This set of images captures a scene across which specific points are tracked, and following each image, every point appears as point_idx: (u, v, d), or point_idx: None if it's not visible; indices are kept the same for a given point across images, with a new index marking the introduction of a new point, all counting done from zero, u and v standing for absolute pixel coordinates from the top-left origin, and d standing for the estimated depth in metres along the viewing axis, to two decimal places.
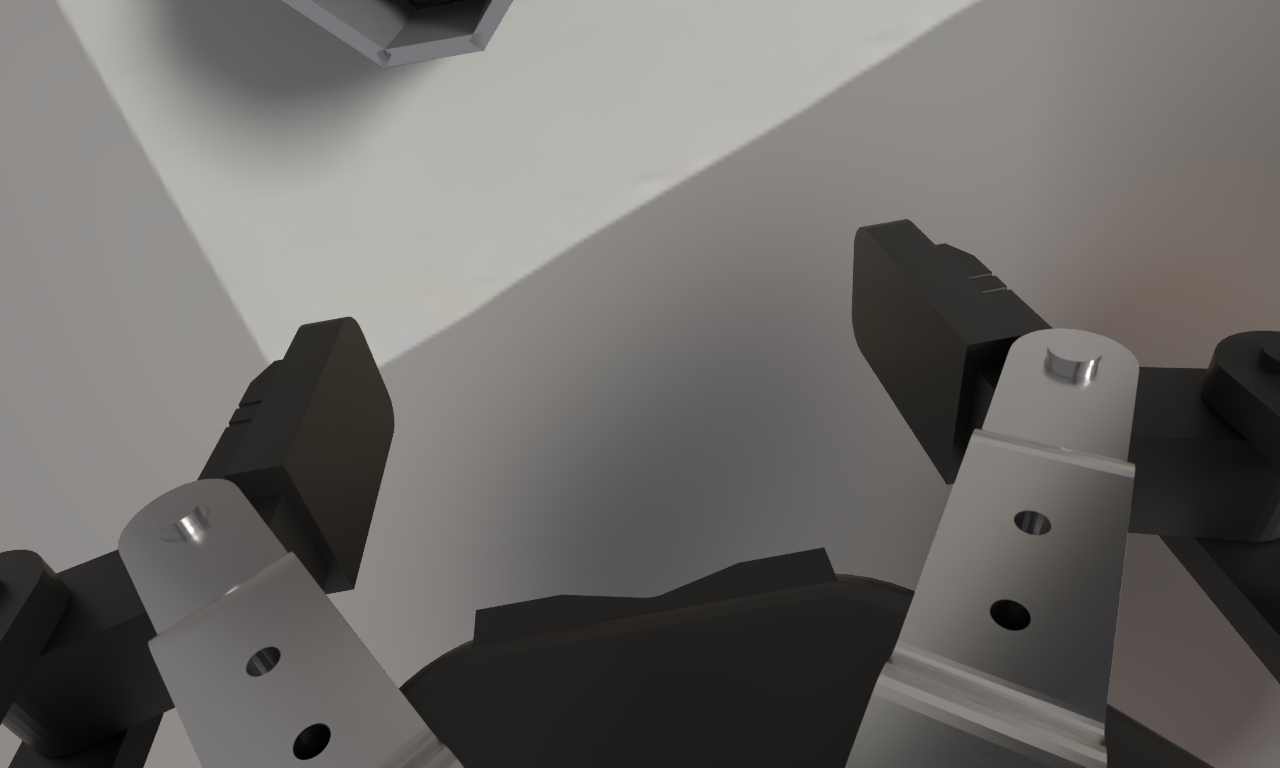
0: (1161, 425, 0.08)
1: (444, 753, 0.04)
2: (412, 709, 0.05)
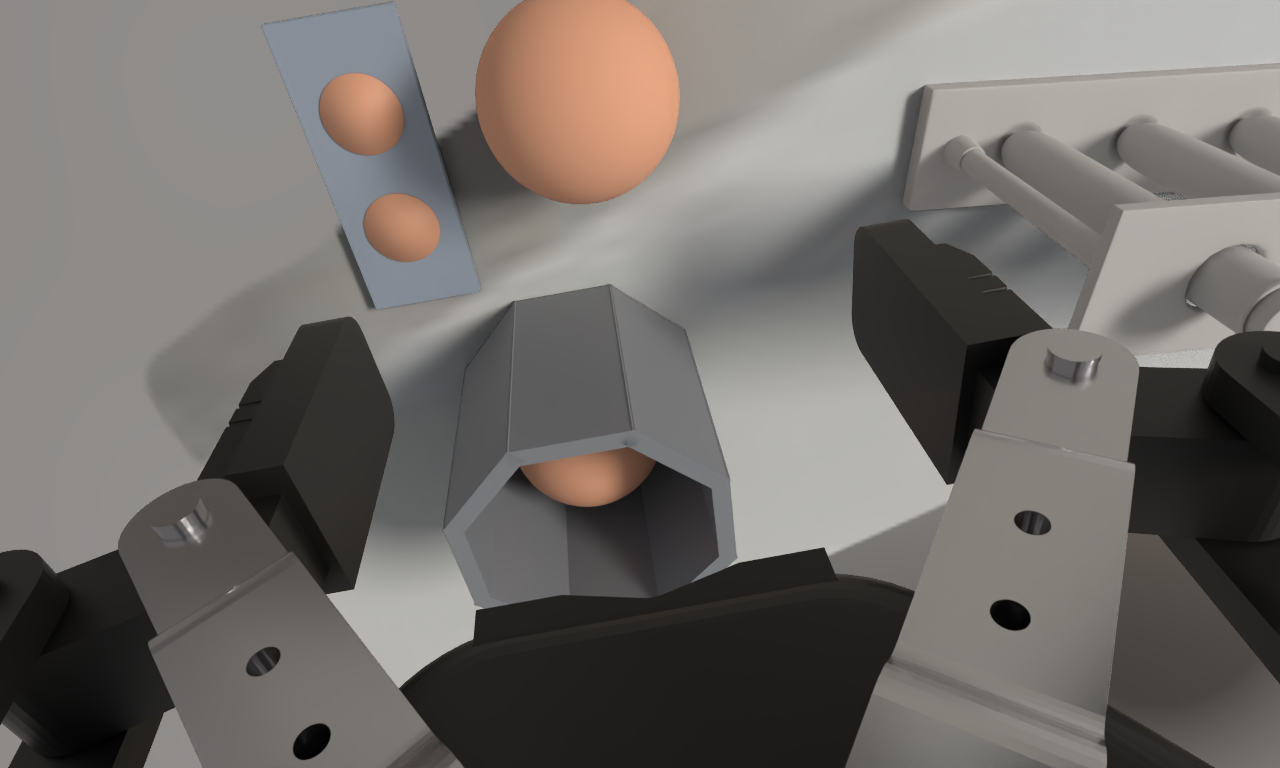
0: (1161, 425, 0.08)
1: (444, 753, 0.04)
2: (412, 709, 0.05)
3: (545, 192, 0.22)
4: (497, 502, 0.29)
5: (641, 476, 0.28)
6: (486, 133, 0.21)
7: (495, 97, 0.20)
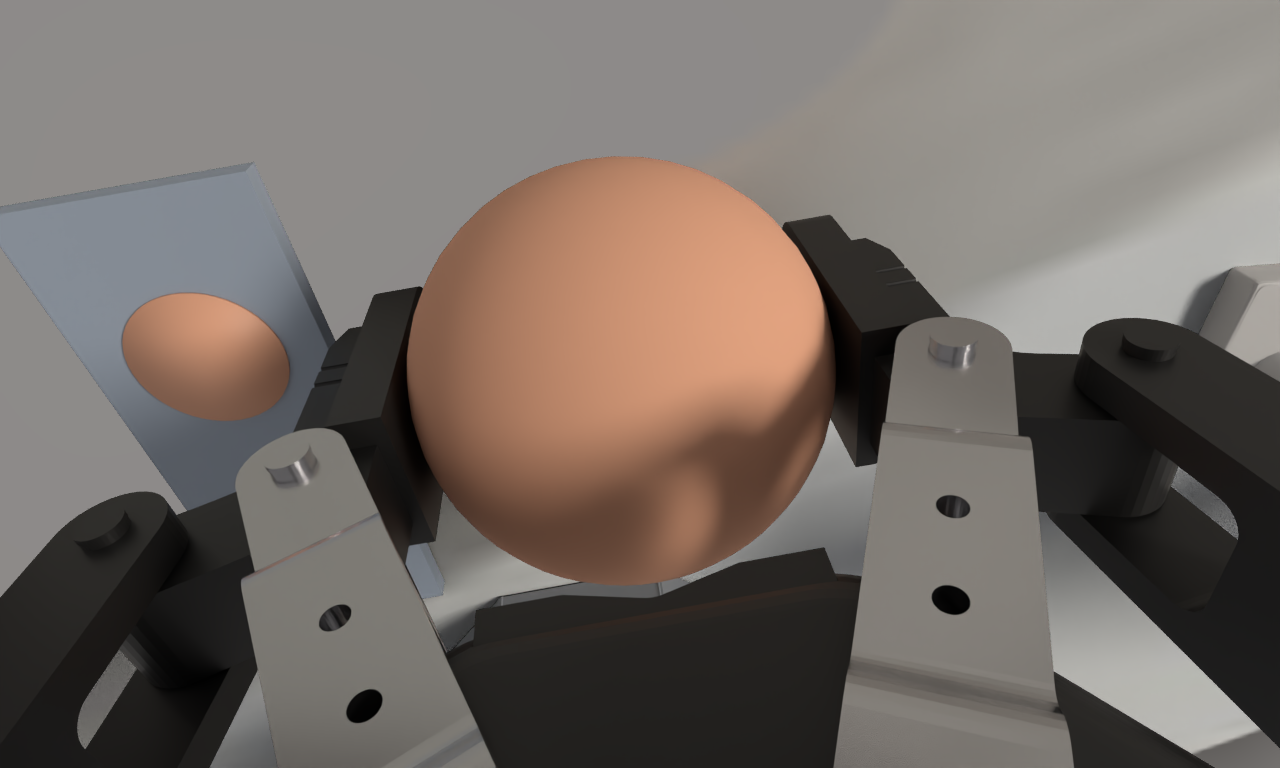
0: (1033, 406, 0.08)
1: (479, 747, 0.04)
2: (460, 693, 0.05)
3: None
4: None
5: None
6: (429, 466, 0.10)
7: (441, 428, 0.09)
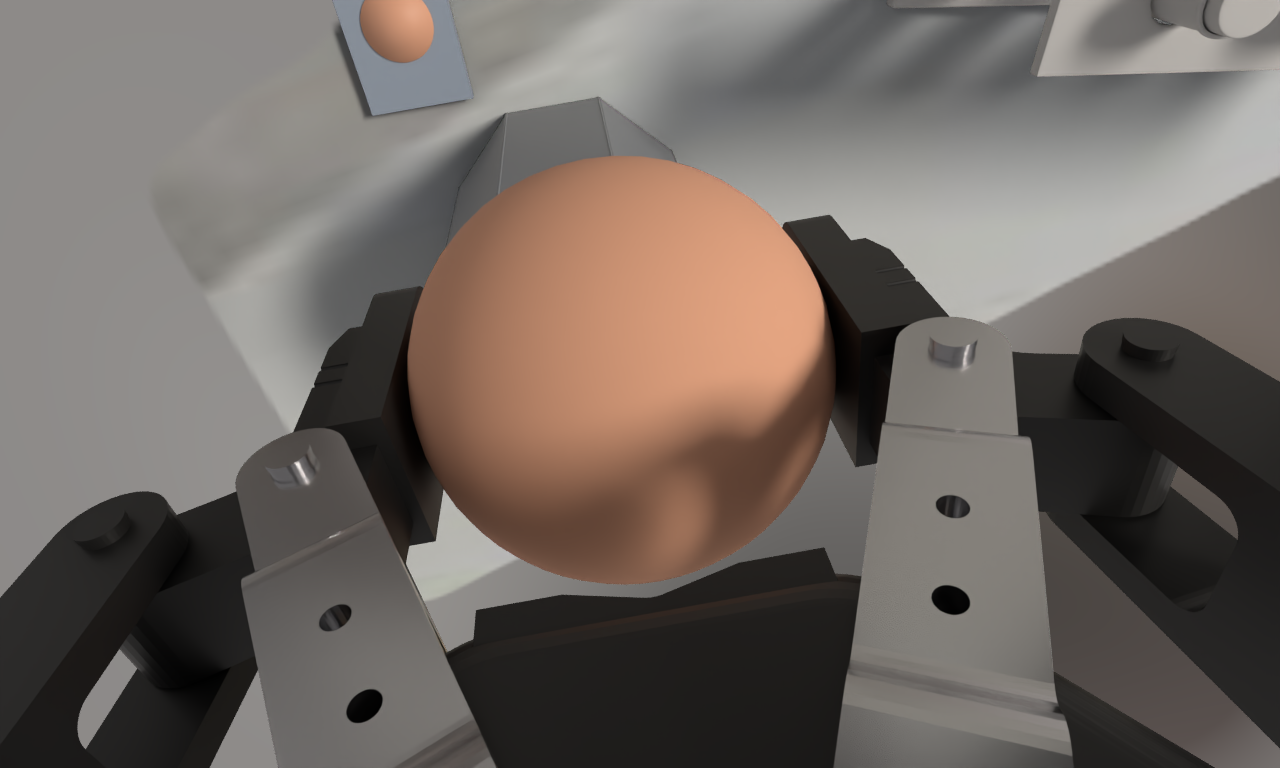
0: (1033, 406, 0.08)
1: (479, 747, 0.04)
2: (460, 693, 0.05)
3: None
4: None
5: None
6: (430, 465, 0.10)
7: (442, 426, 0.09)
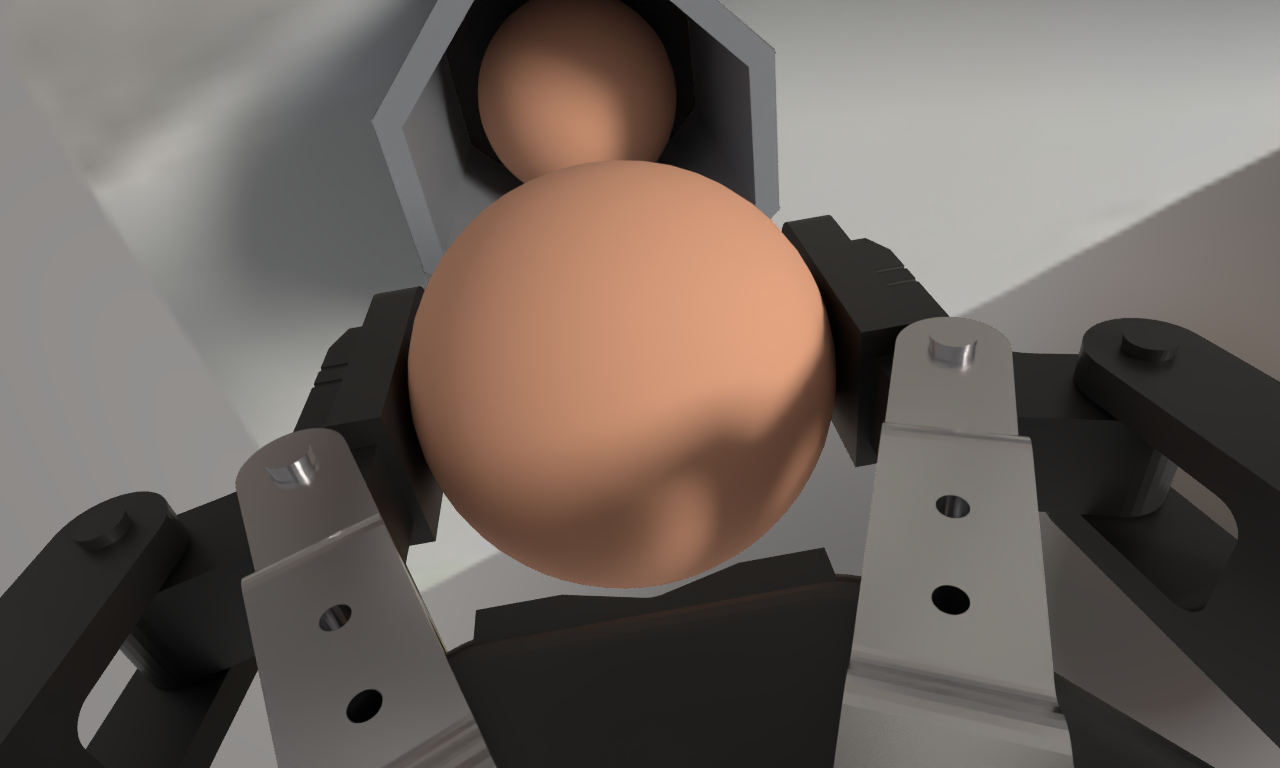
0: (1033, 406, 0.08)
1: (479, 747, 0.04)
2: (460, 693, 0.05)
3: None
4: (460, 191, 0.23)
5: (648, 142, 0.22)
6: (430, 469, 0.10)
7: (442, 431, 0.09)
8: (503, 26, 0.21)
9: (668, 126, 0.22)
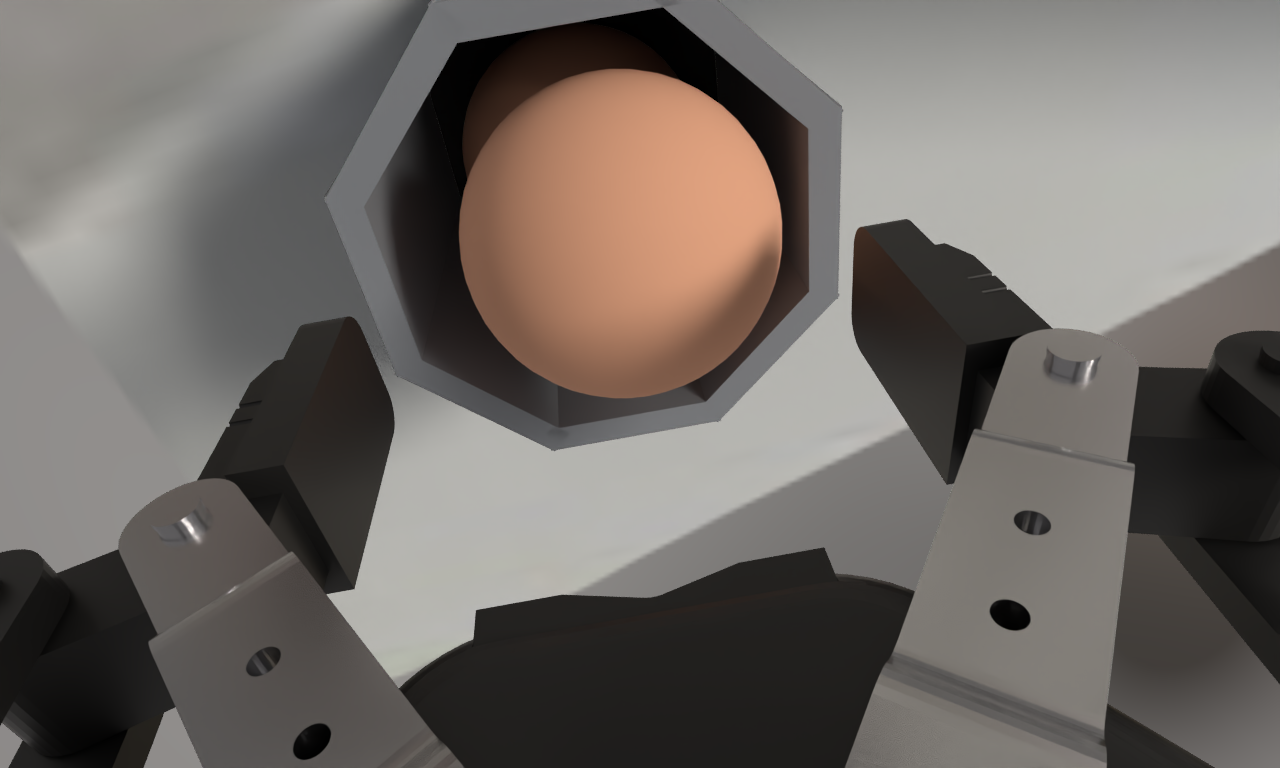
0: (1161, 425, 0.08)
1: (444, 754, 0.04)
2: (412, 709, 0.05)
3: (590, 390, 0.13)
4: (445, 260, 0.19)
5: None
6: (488, 308, 0.13)
7: (510, 254, 0.12)
8: (492, 68, 0.17)
9: None
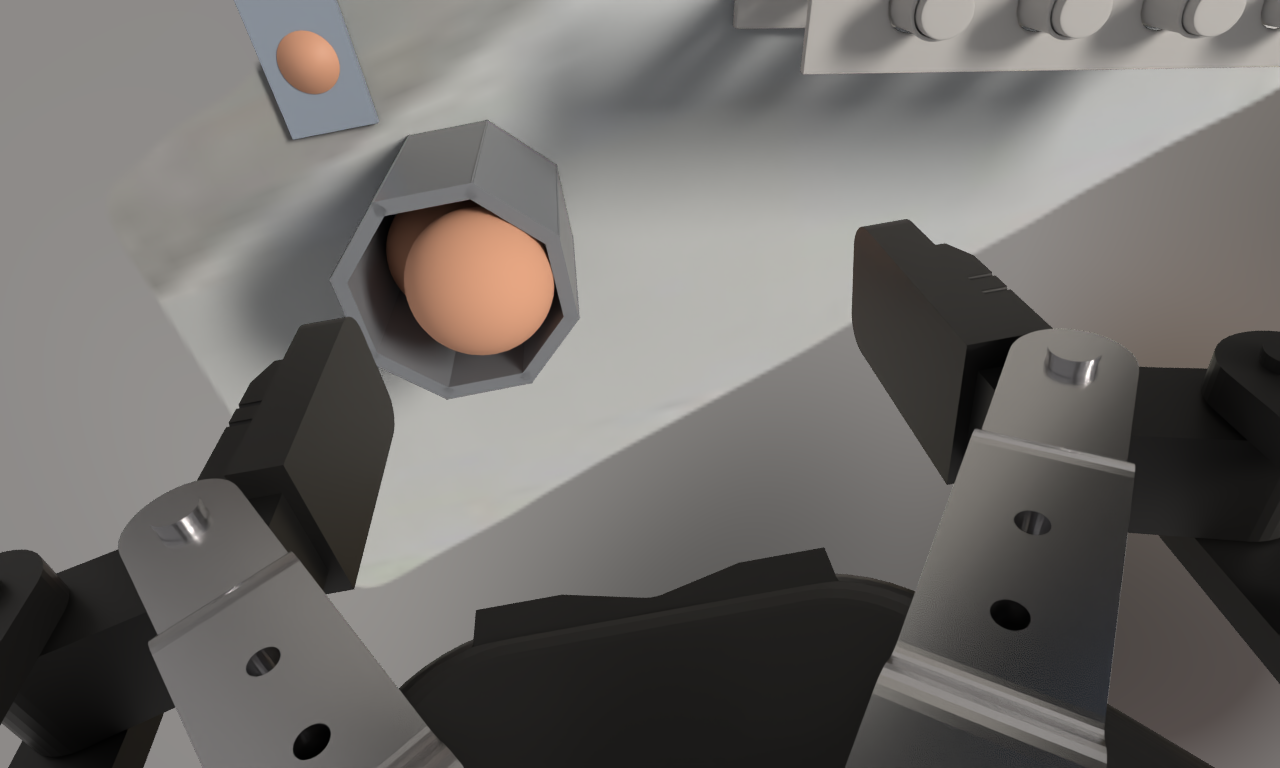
0: (1161, 425, 0.08)
1: (444, 753, 0.04)
2: (412, 709, 0.05)
3: (508, 330, 0.29)
4: (395, 302, 0.35)
5: None
6: (456, 302, 0.28)
7: (466, 267, 0.28)
8: None
9: None
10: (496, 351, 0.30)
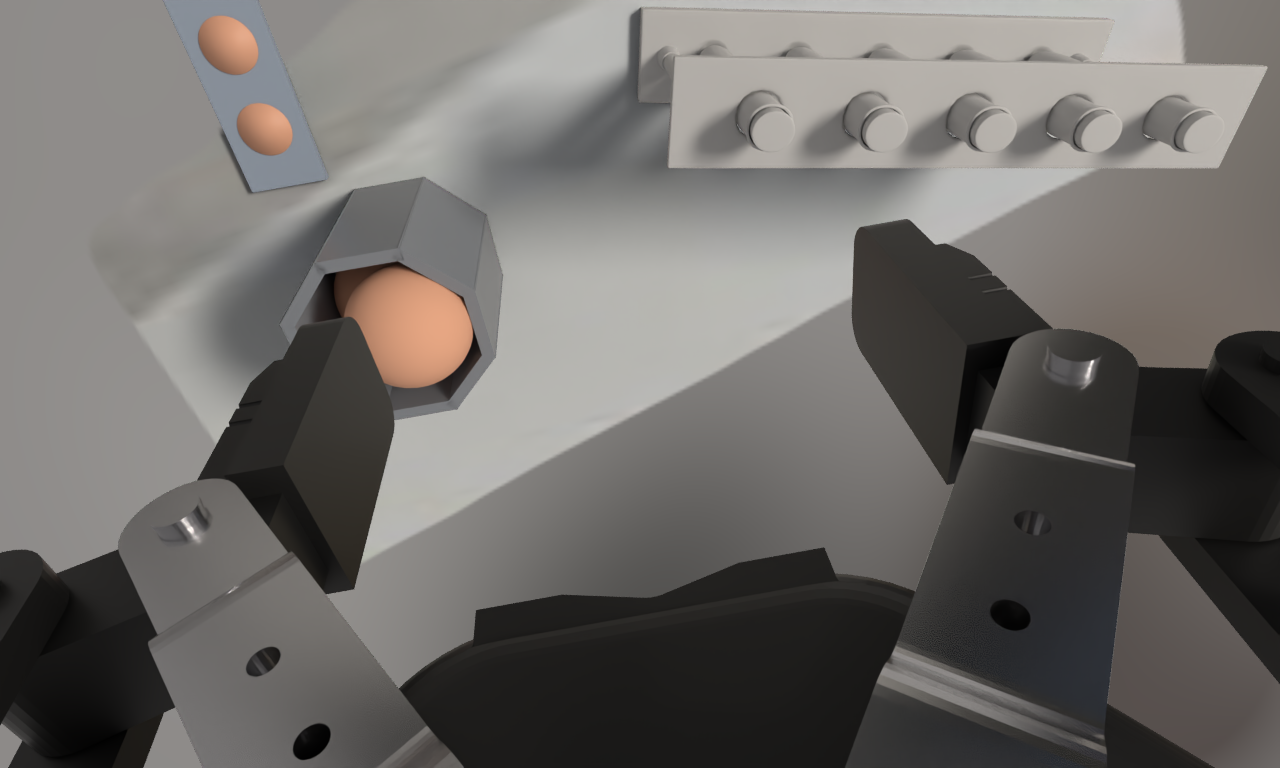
0: (1161, 425, 0.08)
1: (444, 753, 0.04)
2: (412, 709, 0.05)
3: (430, 370, 0.34)
4: None
5: None
6: (384, 348, 0.33)
7: (393, 319, 0.33)
8: None
9: None
10: (422, 385, 0.36)
